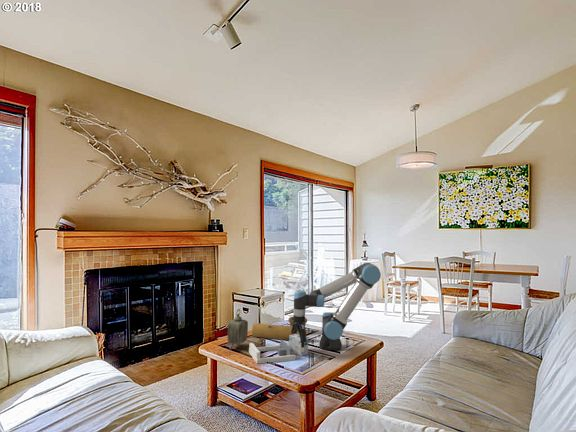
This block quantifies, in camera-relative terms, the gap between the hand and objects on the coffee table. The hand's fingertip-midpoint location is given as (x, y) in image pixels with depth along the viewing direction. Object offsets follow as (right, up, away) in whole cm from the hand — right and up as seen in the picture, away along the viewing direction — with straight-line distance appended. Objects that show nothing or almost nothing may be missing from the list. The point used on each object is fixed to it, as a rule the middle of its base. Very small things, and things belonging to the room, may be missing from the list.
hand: (297, 348), depth 226 cm
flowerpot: (+1, -5, +45) cm, 45 cm away
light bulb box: (0, -3, 0) cm, 3 cm away
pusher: (-10, -2, -4) cm, 11 cm away
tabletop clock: (-39, -2, +7) cm, 40 cm away
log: (-13, -4, +29) cm, 32 cm away
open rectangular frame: (-17, -2, -6) cm, 18 cm away
